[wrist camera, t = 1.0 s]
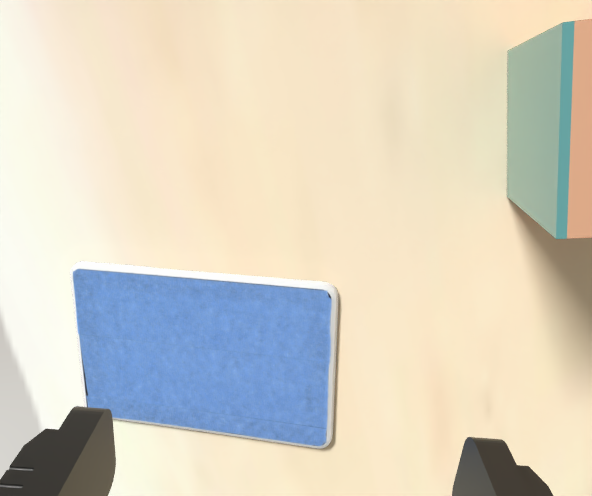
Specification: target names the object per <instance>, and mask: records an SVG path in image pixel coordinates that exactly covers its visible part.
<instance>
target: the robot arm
mask: <svg viewBox="0 0 592 496" xmlns="http://www.w3.org/2000/svg"><path fill="white" fill-rule="evenodd" d="M115 465H116V458H115V445H114V433H113V420H112V413H111V410H110V409H104V408H91V407H78V406H76V407H74V408H73V409H72V410H71V411H70V413H69V414H68V416H67V417H66V419H65V421H64V422H63V424H62V425H61V427H60V428H59V430H55V429H45V430H44V431H42V432H41V433H40V434H38V435H37V436H36V437H35V438H33V439H32V440H31V441H29V442H28V443H27V444H26V445H24V446H23V448H22V449H21V451H20V452H19V454H18V455H17V457H16V458H15V459H14V461H13V462H12V464H11V465H10V469H9V470H7V471H6V472H5V474H4V475H3V477H2V478H1V479H0V496H108V494H109V491H110V489H111V486H112V482H113V478H114V474H115ZM452 496H553V494H552V493H551V491H550V489H549V487H548V486H547V485H546V484H545V483H544V482H543V481H542V480H541V478H540V477H539V476H538V475H537V474H536V473H535V472H534V471H533V470H532V469H531V468H530V467H529V466H519V465H516V463H515V461H514V459H513V456H512V454H511V452H510V450H509V448H508V446H507V444H506V443H505V442H504V441H503V440H500V439H487V438H474V437H468V438H467V439H466V441H465V443H464V446H463V450H462V454H461V458H460V462H459V466H458V470H457V474H456V478H455V481H454V485H453V492H452Z"/></svg>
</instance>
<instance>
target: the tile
mask: <svg viewBox="0 0 592 496" xmlns="http://www.w3.org/2000/svg"><path fill="white" fill-rule="evenodd" d="M507 197H508V198H509V199H510V200H511V201H513V202H514V203H515V204H516V205H517V206H518V207H519V208H521V209H522V210H523V211H524V212H525V213H526V214H528V215H529V216H530V217H531V218H532V219H533V220H534V221H536V222H537V223H538V224H539V225H540V226H541V227H543V228H544V229H545V230H546V231H547V232H548V233H550V234H551V235H552V236H553V237H554V238H555V239H569V238H592V19H587V20H579V21H571V22H563V23H561V24H559V25H557V26H555V27H553V28H551V29H549V30H547V31H545V32H543V33H541V34H539V35H537V36H535V37H533V38H531V39H530V40H528V41H526V42H524V43H522V44H520V45H518V46H516V47H514V48H512V49H510V50H508V58H507Z"/></svg>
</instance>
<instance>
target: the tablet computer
mask: <svg viewBox="0 0 592 496" xmlns="http://www.w3.org/2000/svg"><path fill="white" fill-rule="evenodd" d="M70 277H71V286H72V295H73V304H74V314H75V323H76V333H77V342H78V351H79V361H80V370H81V380H82V388H83V398H84V407H91V408H104V409H110V410H111V413H112V419H116V420H124V421H131V422H138V423H145V424H153V425H160V426H166V427H173V428H180V429H187V430H194V431H201V432H208V433H215V434H222V435H229V436H235V437H242V438H248V439H255V440H262V441H269V442H276V443H283V444H290V445H297V446H303V447H311V448H316V449H322V448H325V447H327V446H328V445H329V444H330V442H331V440H332V437H333V421H334V394H335V374H336V349H337V323H338V292H337V289H336V288H335V286H334V285H332V284H330V283H328V282H323V281H310V280H297V279H284V278H272V277H260V276H248V275H236V274H224V273H212V272H200V271H187V270H175V269H163V268H153V267H147V266H135V265H118V264H112V263H96V262H85V261H80V262H77V263H76V264H75V265H74V266H73V267H72V269H71V271H70Z"/></svg>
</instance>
